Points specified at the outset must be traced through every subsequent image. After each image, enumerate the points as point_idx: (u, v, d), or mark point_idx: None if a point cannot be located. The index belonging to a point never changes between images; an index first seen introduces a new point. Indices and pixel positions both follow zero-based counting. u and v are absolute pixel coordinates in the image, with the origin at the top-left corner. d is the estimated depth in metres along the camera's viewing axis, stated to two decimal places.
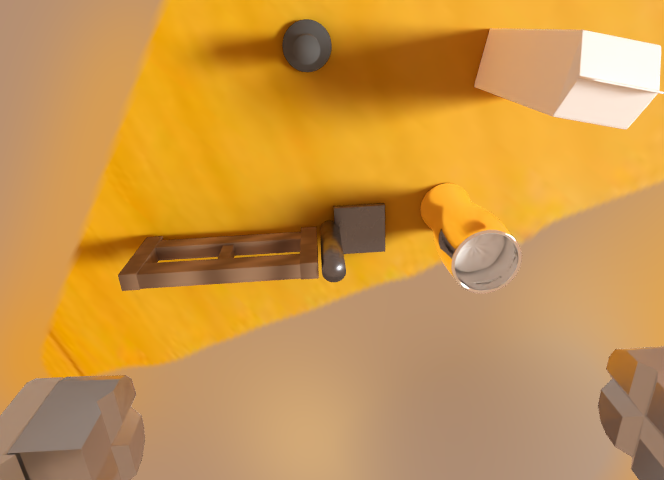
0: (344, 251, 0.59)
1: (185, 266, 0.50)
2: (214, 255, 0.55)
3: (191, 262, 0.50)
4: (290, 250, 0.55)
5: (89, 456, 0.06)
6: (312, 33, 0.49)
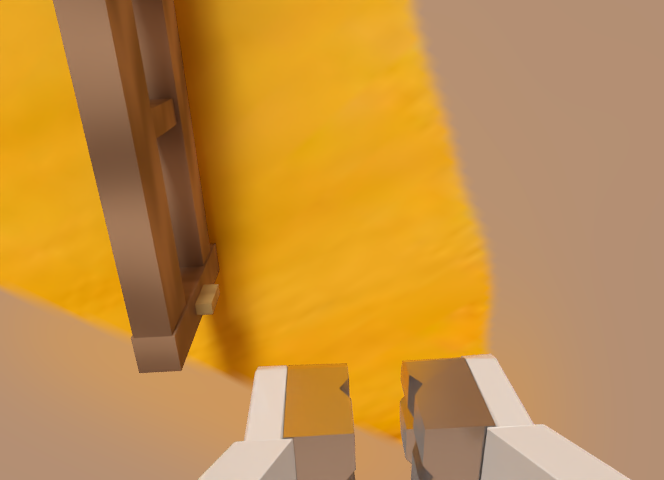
0: None
1: None
2: (180, 147, 0.24)
3: None
4: None
5: (353, 441, 0.07)
6: None
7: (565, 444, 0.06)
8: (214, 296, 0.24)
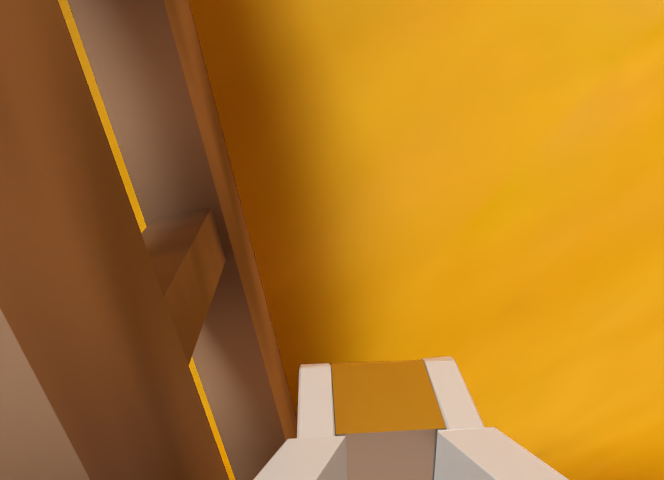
0: None
1: None
2: (237, 305, 0.11)
3: None
4: None
5: None
6: None
7: (513, 447, 0.06)
8: None
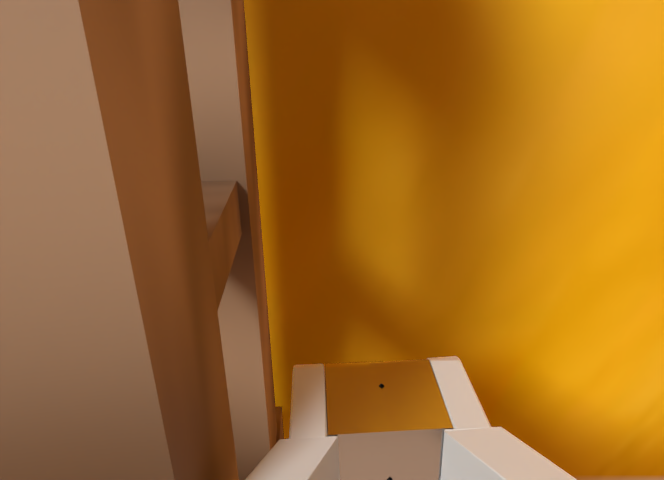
0: None
1: None
2: (244, 280, 0.11)
3: None
4: None
5: None
6: None
7: (520, 447, 0.06)
8: None
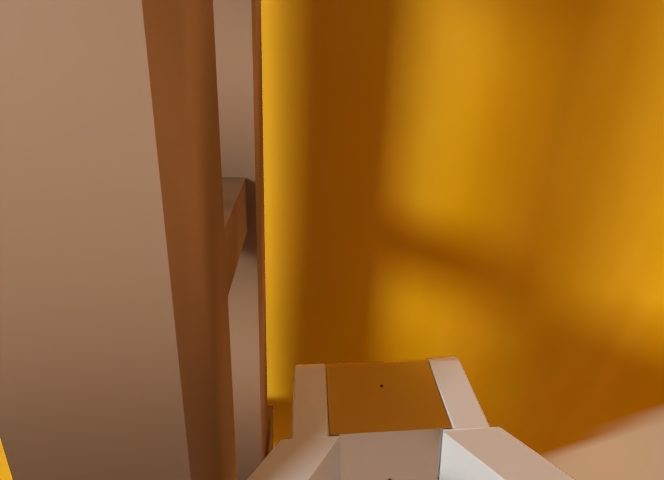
0: None
1: None
2: (247, 277, 0.11)
3: None
4: None
5: None
6: None
7: (519, 447, 0.06)
8: None
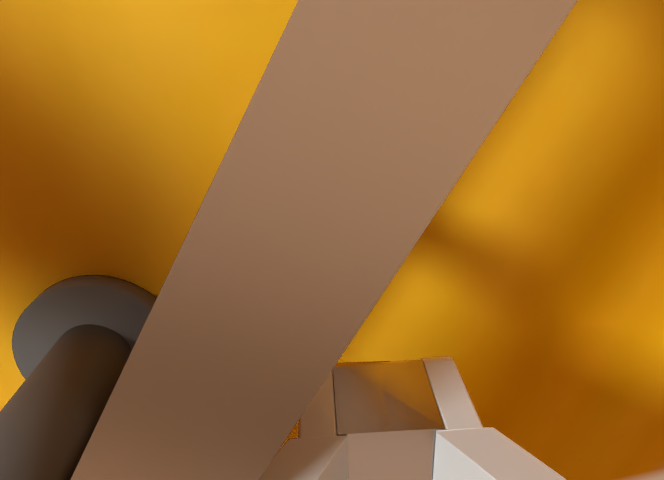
0: None
1: None
2: None
3: None
4: None
5: None
6: None
7: (512, 447, 0.06)
8: None
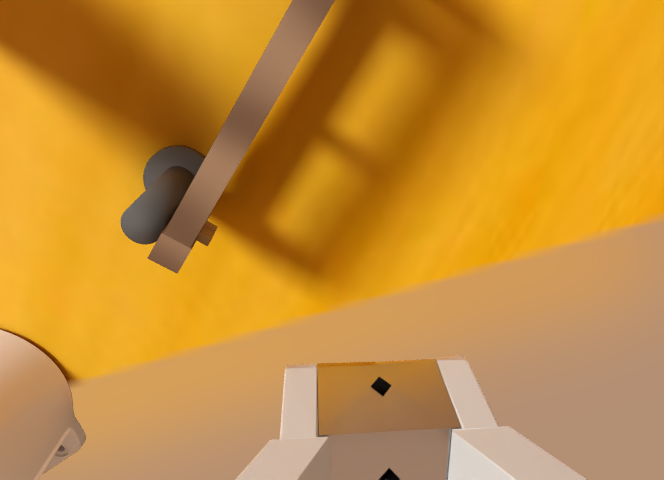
0: None
1: None
2: None
3: None
4: None
5: (387, 439, 0.07)
6: None
7: (528, 446, 0.06)
8: (213, 234, 0.31)
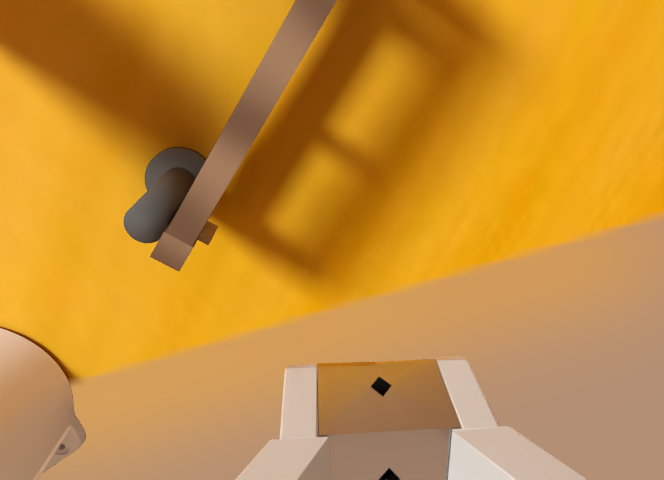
0: None
1: None
2: None
3: None
4: None
5: (387, 439, 0.07)
6: None
7: (528, 446, 0.06)
8: (214, 233, 0.32)
